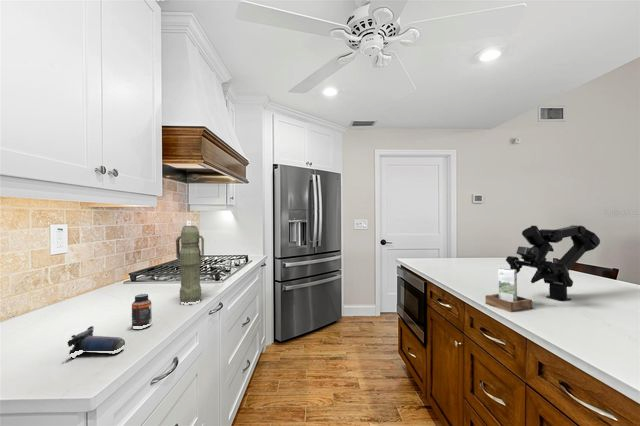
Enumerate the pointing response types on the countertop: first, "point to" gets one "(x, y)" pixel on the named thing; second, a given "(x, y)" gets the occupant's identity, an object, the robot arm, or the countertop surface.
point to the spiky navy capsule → (94, 342)
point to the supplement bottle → (141, 310)
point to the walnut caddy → (509, 303)
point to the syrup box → (507, 284)
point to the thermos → (190, 263)
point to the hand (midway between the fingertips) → (520, 280)
